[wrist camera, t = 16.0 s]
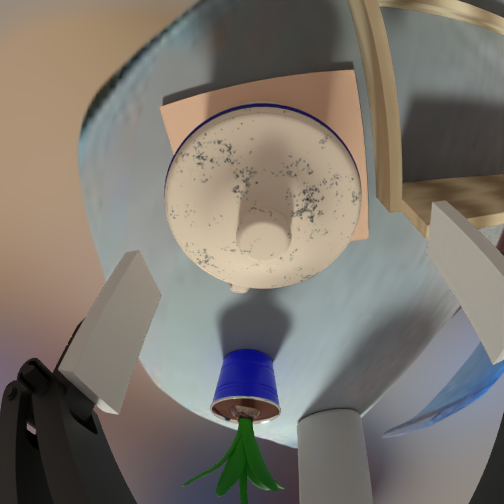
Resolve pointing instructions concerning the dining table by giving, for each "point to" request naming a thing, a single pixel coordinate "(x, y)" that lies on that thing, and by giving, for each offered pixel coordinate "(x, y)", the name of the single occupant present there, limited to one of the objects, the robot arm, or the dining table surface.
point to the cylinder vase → (333, 459)
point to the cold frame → (388, 122)
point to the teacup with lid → (263, 195)
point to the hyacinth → (245, 418)
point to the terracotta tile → (293, 95)
